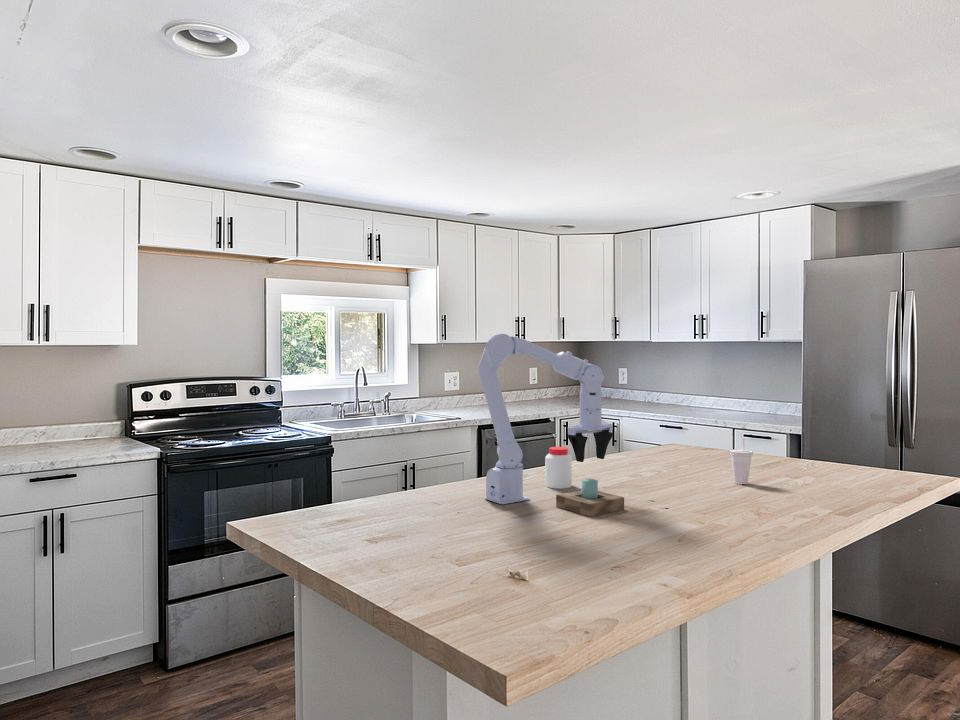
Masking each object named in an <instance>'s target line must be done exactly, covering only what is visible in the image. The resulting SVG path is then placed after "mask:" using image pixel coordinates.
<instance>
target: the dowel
mask: <svg viewBox="0 0 960 720" xmlns="http://www.w3.org/2000/svg"><path fill="white" fill-rule="evenodd" d="M598 482H599V480H598V479H595V478H583V479H581V490H582V498H585V499H589V500H591V499H597V498H598V491H599V490H598V487H599V486H598Z"/></svg>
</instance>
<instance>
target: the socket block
mask: <svg viewBox="0 0 960 720" xmlns="http://www.w3.org/2000/svg"><path fill="white" fill-rule="evenodd" d="M555 498H556V499H555V501H556V502H555V503H556V504H555V506H556V507H557V508H559V509H563V510H565V511H570V512H572V513H576V514H579V515H583V516H585V517H586V516H587V517H595V516H599V515H604V514H609V513H613V512H614V513H615V512H618V511H622V510H625V497H624V496H620V495H616V494H612V493H609V492H604V491H600V490H598V498H597V499H591V500H589V499H585V498H582V489H580V490H576V491H570V492H566V493H560V494H559V493H558V494H555Z"/></svg>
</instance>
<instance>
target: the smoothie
mask: <svg viewBox="0 0 960 720" xmlns="http://www.w3.org/2000/svg"><path fill="white" fill-rule="evenodd" d="M741 441H742V443H741V444H742V445H741V448H737V449H736V448H734V449H730V450H729V454H730V455H731V466H732V474H733V475H732V477H733V482H734V483H733V484H735V485H739V484H740V485H741V486H743V485H742V484H747V485H748V484H749V483H748V482H749V477H750V470H751V464H752V463H751V462H752V456H754V454H753V453H754V452H753V451H752V450H750V449H745V436H744V435H743V436H742V440H741ZM740 485H739V486H740Z"/></svg>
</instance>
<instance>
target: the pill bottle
mask: <svg viewBox="0 0 960 720" xmlns="http://www.w3.org/2000/svg"><path fill="white" fill-rule="evenodd" d="M544 458H545V459H544V462H545V464H544V486H545V487H546V488H551V489H561V490H562V489H571V488H572V486H573V473H572V472H573V457H572V455H570V454H569V448H568V447H565V446H551V447H549V448H548V453H547V454H546V455H545V457H544Z"/></svg>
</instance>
